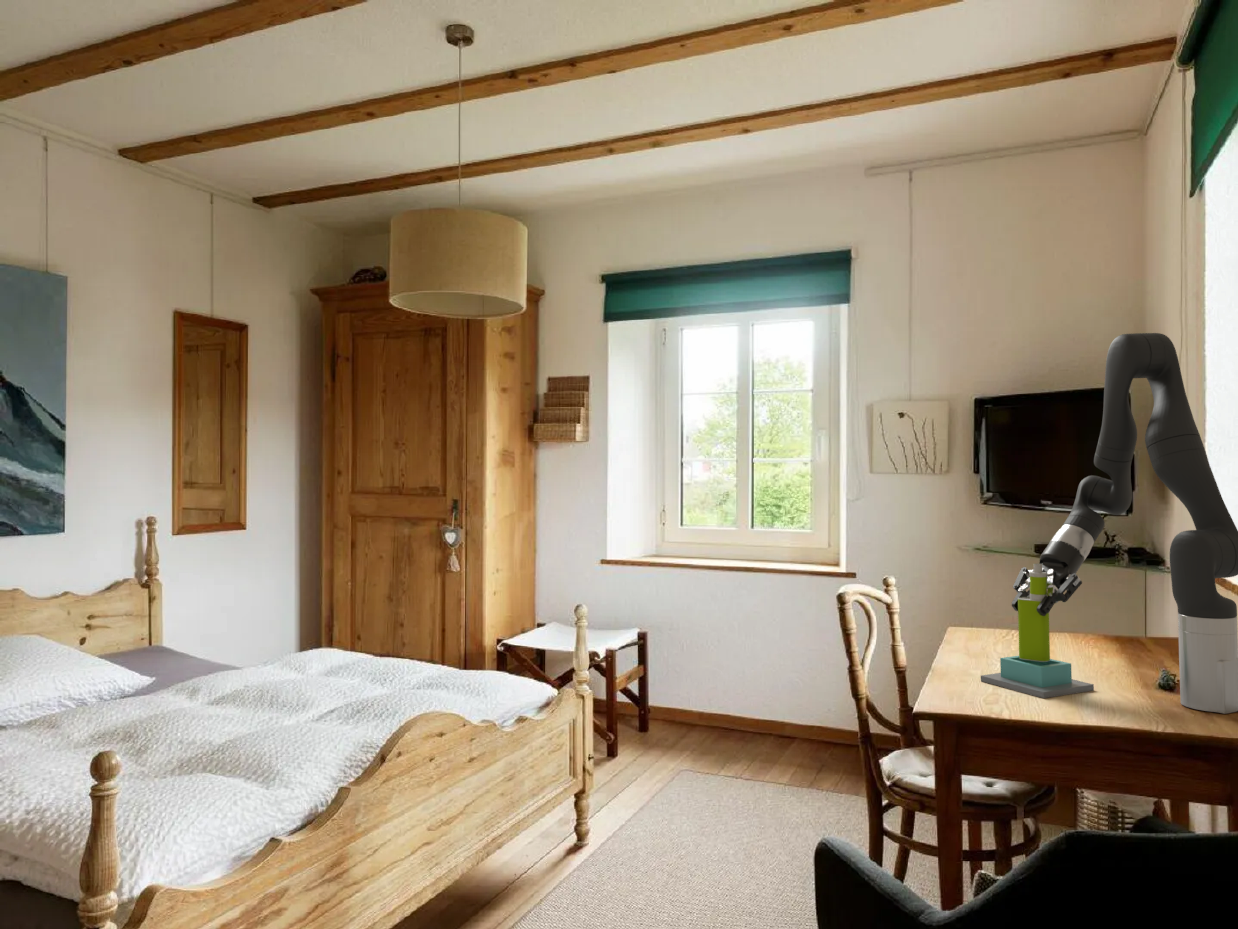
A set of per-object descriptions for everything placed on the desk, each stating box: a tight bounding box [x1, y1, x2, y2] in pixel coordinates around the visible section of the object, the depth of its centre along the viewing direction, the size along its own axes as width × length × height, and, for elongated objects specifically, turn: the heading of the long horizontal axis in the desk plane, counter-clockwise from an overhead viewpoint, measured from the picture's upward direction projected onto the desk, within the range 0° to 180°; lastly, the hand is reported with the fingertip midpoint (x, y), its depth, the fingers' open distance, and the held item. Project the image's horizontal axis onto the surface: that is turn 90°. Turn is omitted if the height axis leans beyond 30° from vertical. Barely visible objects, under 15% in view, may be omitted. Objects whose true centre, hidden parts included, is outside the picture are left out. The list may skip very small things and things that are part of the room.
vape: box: [1017, 563, 1051, 662], centre depth 179 cm, size 4×6×20 cm, turn 51°
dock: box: [980, 655, 1095, 699], centre depth 179 cm, size 16×14×5 cm
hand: (1027, 610), depth 178 cm, fingers closed on vape, 5 cm apart
